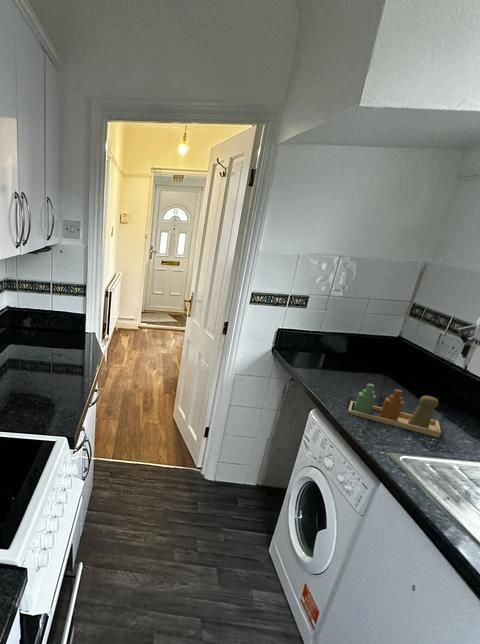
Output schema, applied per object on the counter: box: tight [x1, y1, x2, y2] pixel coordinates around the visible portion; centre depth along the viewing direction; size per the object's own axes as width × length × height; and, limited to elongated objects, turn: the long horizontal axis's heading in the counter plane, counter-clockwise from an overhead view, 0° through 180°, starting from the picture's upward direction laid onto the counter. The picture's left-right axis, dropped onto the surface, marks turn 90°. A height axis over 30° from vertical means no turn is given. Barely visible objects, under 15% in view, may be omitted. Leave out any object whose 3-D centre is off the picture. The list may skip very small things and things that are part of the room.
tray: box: [347, 400, 442, 439], centre depth 151 cm, size 28×12×2 cm, turn 56°
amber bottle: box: [378, 389, 405, 421], centre depth 149 cm, size 6×6×11 cm
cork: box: [408, 395, 439, 429], centre depth 144 cm, size 6×6×11 cm
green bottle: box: [352, 383, 377, 415], centre depth 153 cm, size 6×6×11 cm
